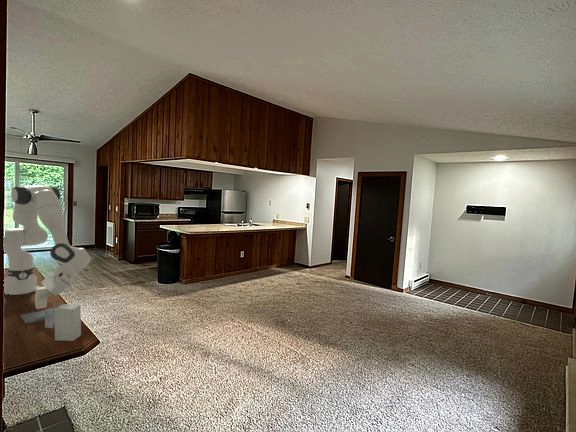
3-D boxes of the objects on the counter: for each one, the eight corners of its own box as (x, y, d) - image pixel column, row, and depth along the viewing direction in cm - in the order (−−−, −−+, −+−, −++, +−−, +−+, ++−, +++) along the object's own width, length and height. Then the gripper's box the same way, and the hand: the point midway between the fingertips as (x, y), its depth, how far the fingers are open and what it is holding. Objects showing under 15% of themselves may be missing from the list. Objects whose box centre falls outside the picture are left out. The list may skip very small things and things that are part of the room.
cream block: (35, 306, 158) (35, 287, 157) (44, 305, 161) (45, 286, 160) (37, 309, 155) (37, 289, 155) (46, 307, 158) (47, 288, 158)
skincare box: (81, 335, 143) (82, 304, 142) (72, 342, 137) (73, 309, 136) (62, 334, 142) (63, 303, 141) (53, 341, 136) (53, 308, 135)
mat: (20, 316, 157) (20, 314, 157) (54, 309, 168) (54, 308, 168) (25, 324, 149) (25, 322, 149) (60, 316, 160) (60, 315, 160)
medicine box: (52, 329, 147) (52, 311, 146) (44, 327, 148) (44, 309, 147) (67, 322, 155) (67, 305, 154) (59, 321, 156) (60, 304, 155)
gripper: (52, 267, 169) (29, 288, 162) (64, 276, 156) (39, 299, 149) (62, 274, 173) (40, 295, 166) (74, 283, 159) (50, 306, 153)
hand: (39, 297), depth 157 cm, fingers closed on cream block, 4 cm apart
